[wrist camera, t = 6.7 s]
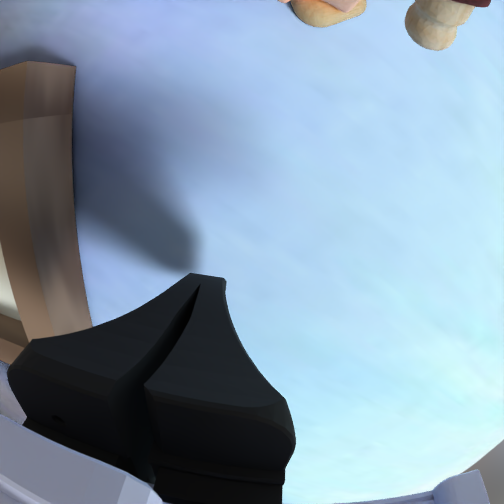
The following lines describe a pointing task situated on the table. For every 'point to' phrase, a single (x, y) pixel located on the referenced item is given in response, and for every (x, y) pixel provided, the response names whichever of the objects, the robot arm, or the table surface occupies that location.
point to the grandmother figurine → (416, 21)
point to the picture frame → (38, 208)
